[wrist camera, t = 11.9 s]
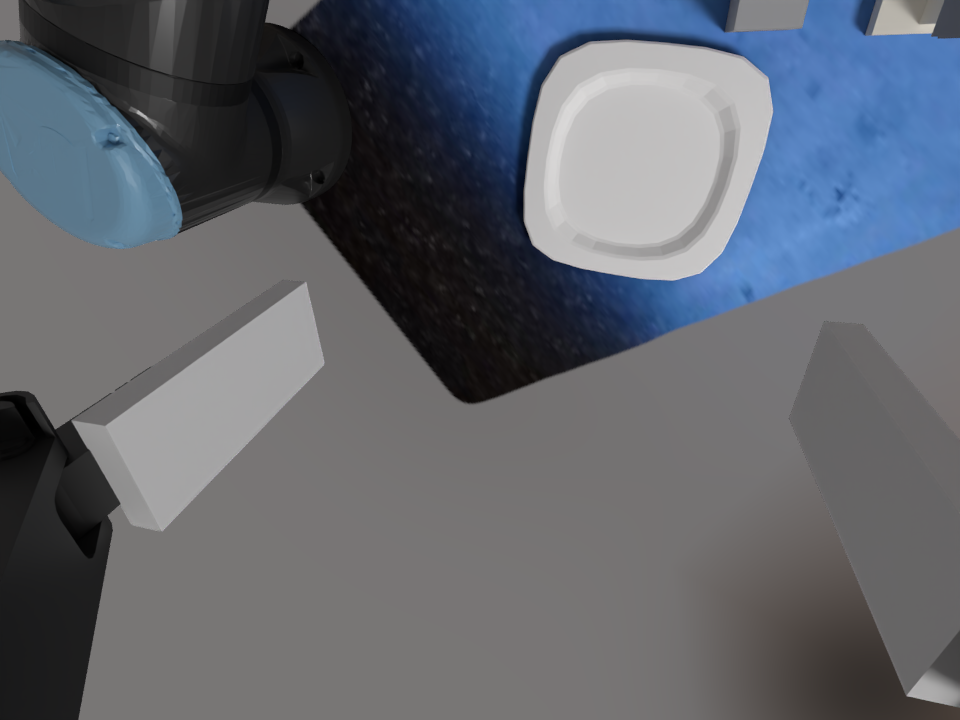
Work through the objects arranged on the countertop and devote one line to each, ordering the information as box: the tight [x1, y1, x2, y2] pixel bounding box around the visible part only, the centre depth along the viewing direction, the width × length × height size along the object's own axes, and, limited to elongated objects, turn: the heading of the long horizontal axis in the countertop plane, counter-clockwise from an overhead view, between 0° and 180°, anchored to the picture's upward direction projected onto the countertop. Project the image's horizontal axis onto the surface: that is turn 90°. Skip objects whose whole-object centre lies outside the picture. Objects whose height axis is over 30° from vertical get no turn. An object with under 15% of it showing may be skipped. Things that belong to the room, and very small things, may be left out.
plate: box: [524, 40, 773, 281], centre depth 42 cm, size 18×18×2 cm
